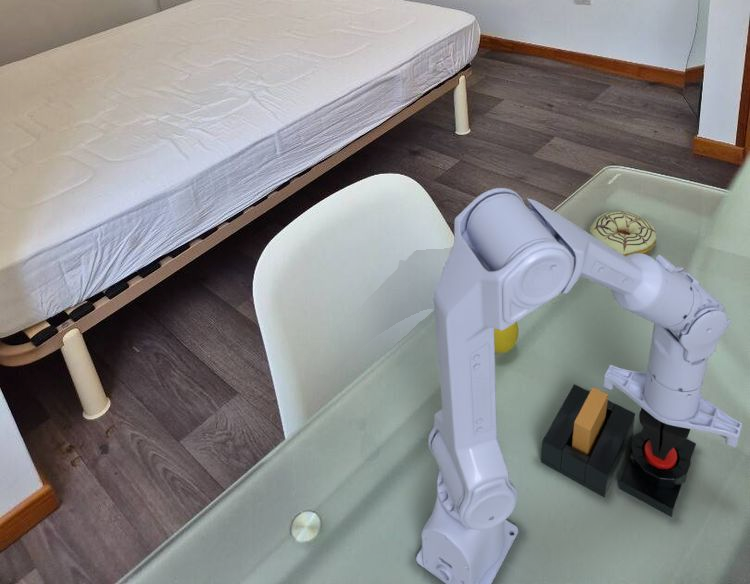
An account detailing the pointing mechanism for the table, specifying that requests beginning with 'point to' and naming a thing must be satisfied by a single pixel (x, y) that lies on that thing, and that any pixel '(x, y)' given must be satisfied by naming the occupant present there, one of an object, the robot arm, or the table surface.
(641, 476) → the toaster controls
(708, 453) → the table surface
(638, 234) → the decorated donut
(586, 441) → the toast
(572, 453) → the toaster
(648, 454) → the button
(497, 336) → the lemon
